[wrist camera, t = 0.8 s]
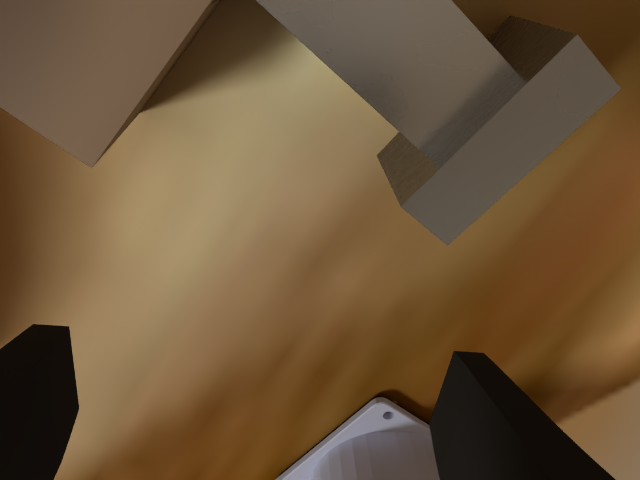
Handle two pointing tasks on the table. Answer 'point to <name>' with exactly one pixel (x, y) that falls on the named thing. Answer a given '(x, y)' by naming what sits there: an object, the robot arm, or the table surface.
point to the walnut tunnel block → (89, 64)
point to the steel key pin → (453, 95)
